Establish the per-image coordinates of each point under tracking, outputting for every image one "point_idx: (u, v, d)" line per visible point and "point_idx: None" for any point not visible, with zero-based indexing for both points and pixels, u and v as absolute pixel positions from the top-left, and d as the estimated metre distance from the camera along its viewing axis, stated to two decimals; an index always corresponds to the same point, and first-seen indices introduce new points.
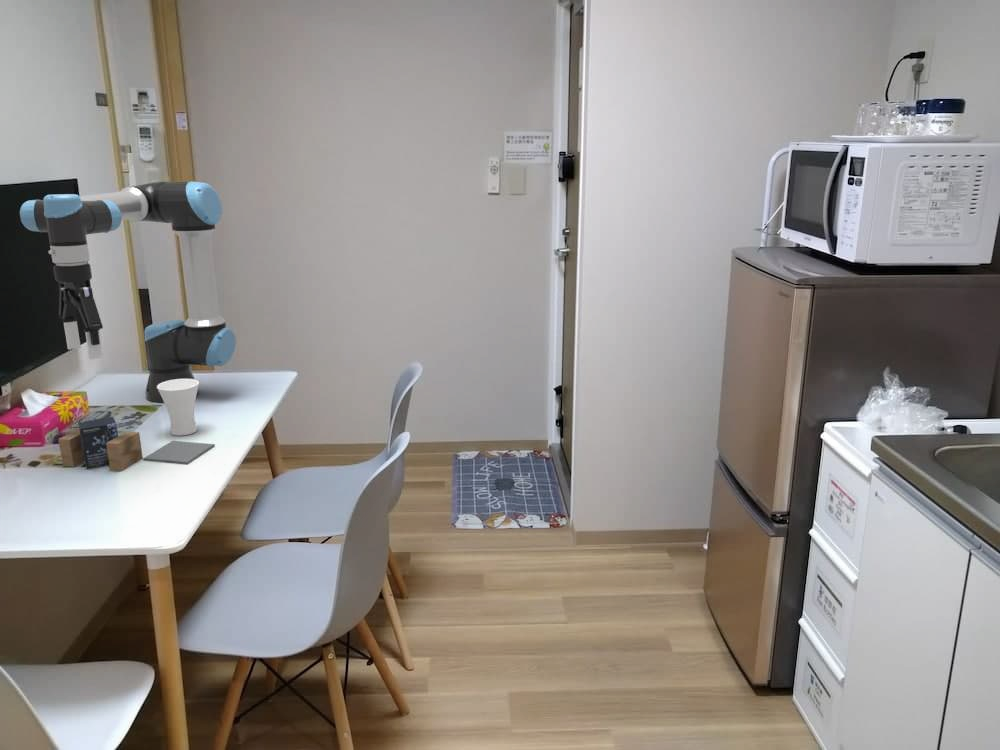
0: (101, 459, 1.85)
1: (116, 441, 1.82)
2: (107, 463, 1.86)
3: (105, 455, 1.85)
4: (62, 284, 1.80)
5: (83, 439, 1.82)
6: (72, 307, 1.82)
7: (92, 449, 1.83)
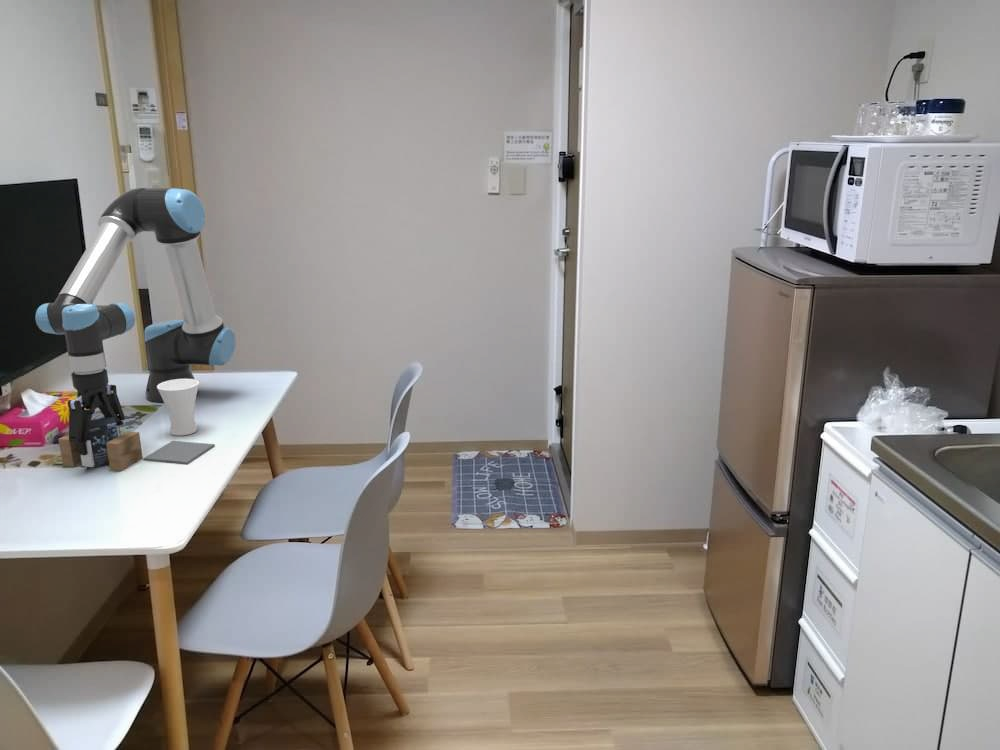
0: (101, 459, 1.85)
1: (116, 441, 1.82)
2: (107, 463, 1.86)
3: (105, 455, 1.85)
4: None
5: None
6: (106, 411, 1.87)
7: (92, 449, 1.83)
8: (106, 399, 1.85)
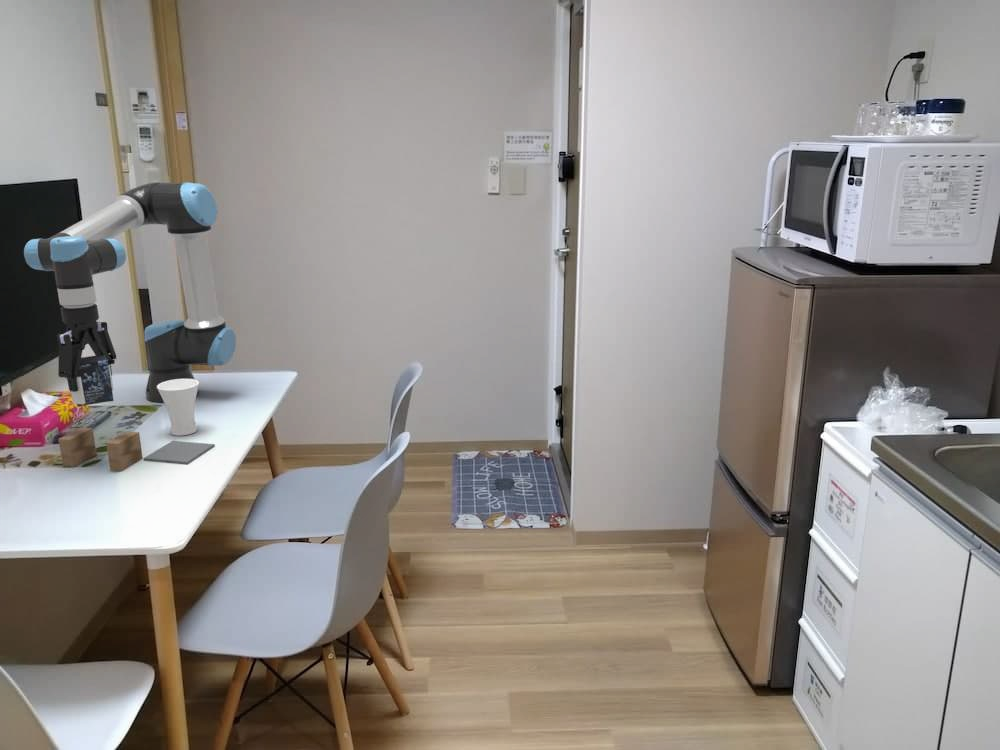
0: (93, 397, 1.81)
1: (116, 441, 1.82)
2: (98, 401, 1.82)
3: (96, 393, 1.81)
4: None
5: None
6: (97, 349, 1.83)
7: (82, 386, 1.79)
8: (97, 335, 1.81)
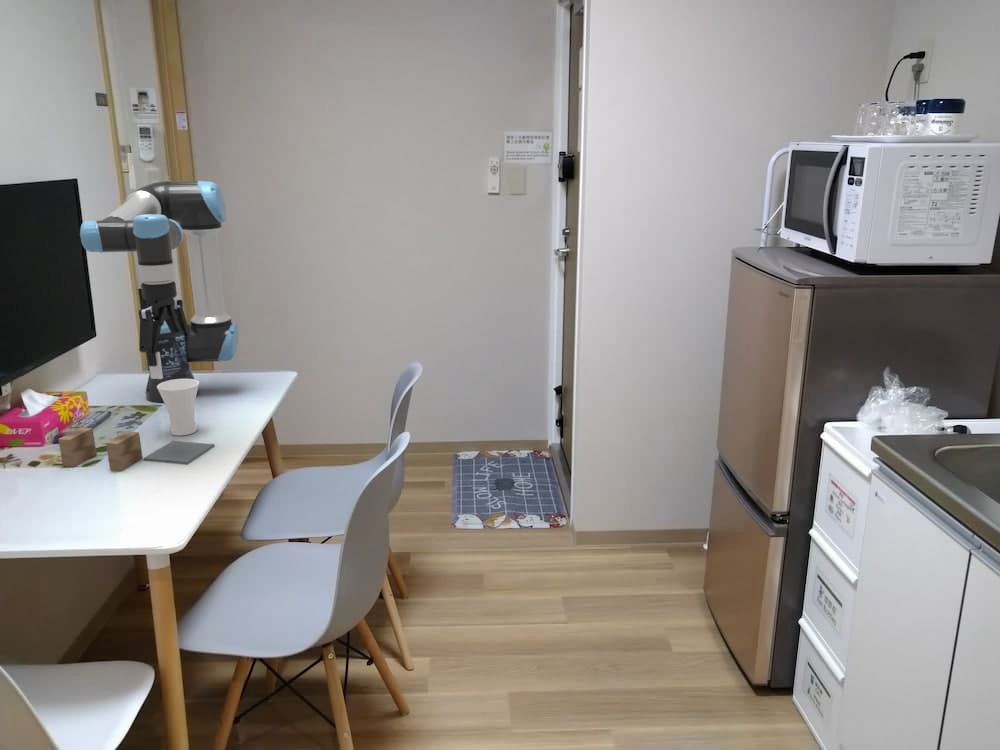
0: (169, 372, 1.85)
1: (116, 441, 1.82)
2: (175, 377, 1.86)
3: (173, 368, 1.85)
4: None
5: None
6: (173, 326, 1.87)
7: None
8: (174, 312, 1.85)
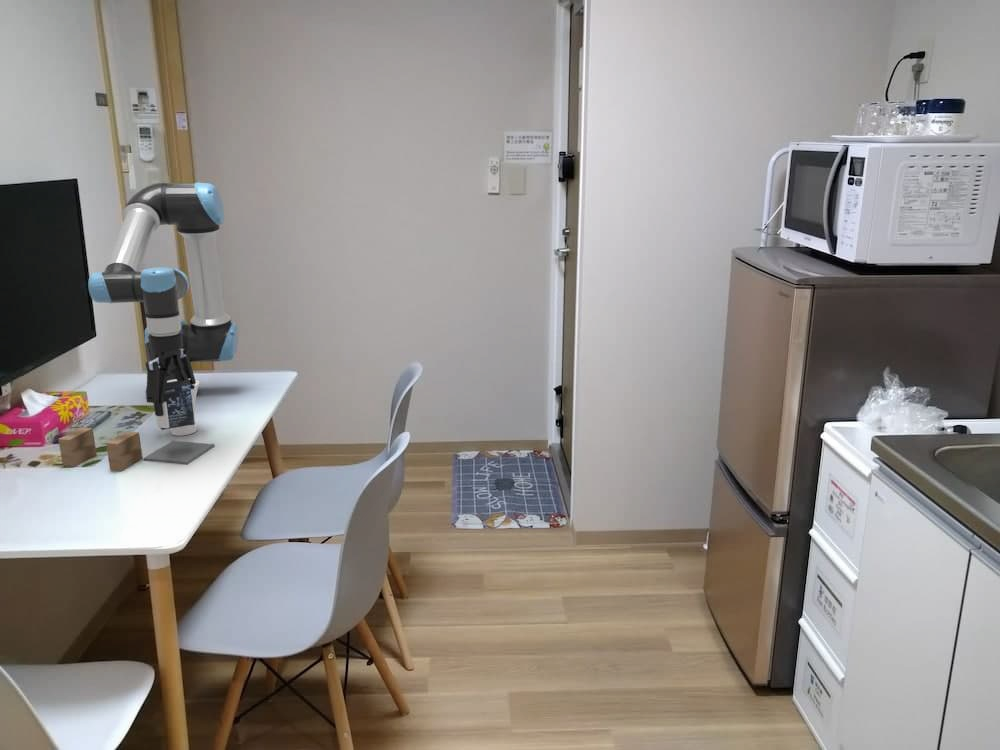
0: (176, 421, 1.88)
1: (116, 441, 1.82)
2: (181, 425, 1.89)
3: (179, 417, 1.88)
4: None
5: None
6: (179, 375, 1.91)
7: None
8: (180, 362, 1.89)
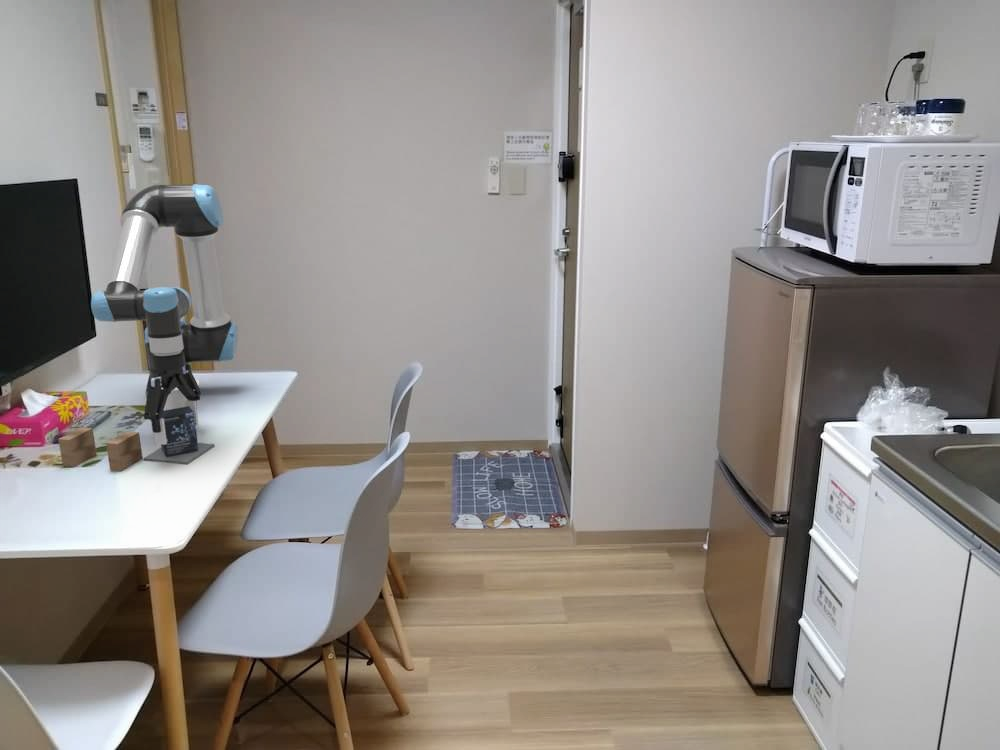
0: (179, 447, 1.91)
1: (116, 441, 1.82)
2: (184, 451, 1.92)
3: (183, 443, 1.91)
4: None
5: None
6: (183, 389, 1.93)
7: (171, 438, 1.89)
8: (183, 379, 1.90)
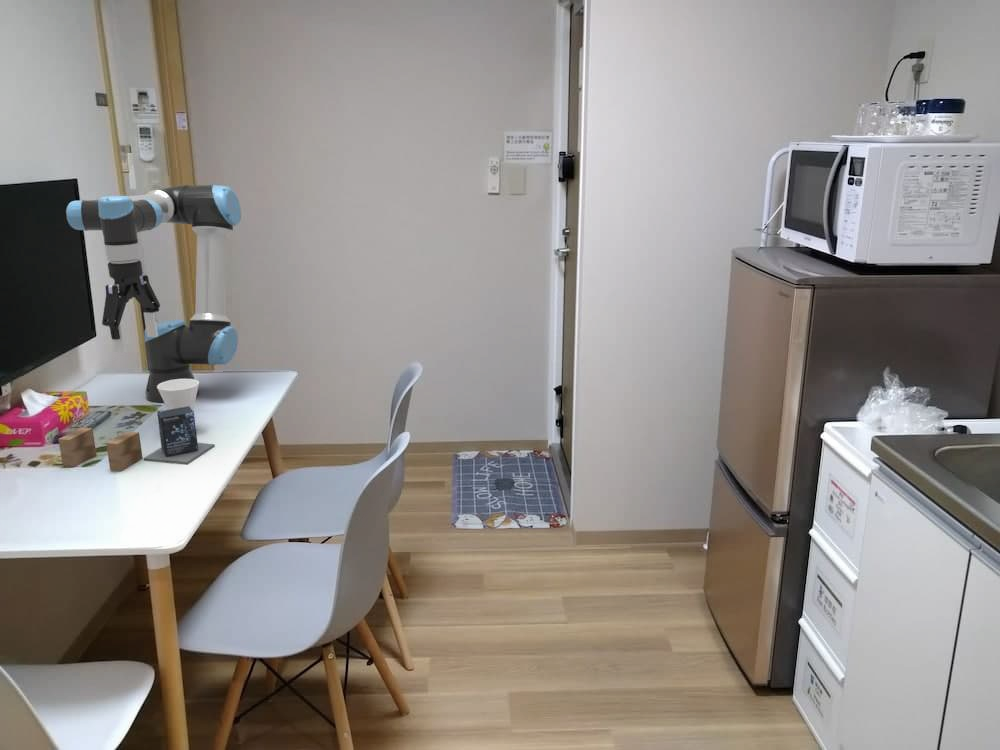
0: (179, 447, 1.91)
1: (116, 441, 1.82)
2: (184, 451, 1.92)
3: (183, 443, 1.91)
4: None
5: (163, 428, 1.87)
6: (142, 300, 1.96)
7: (171, 438, 1.89)
8: (141, 289, 1.93)
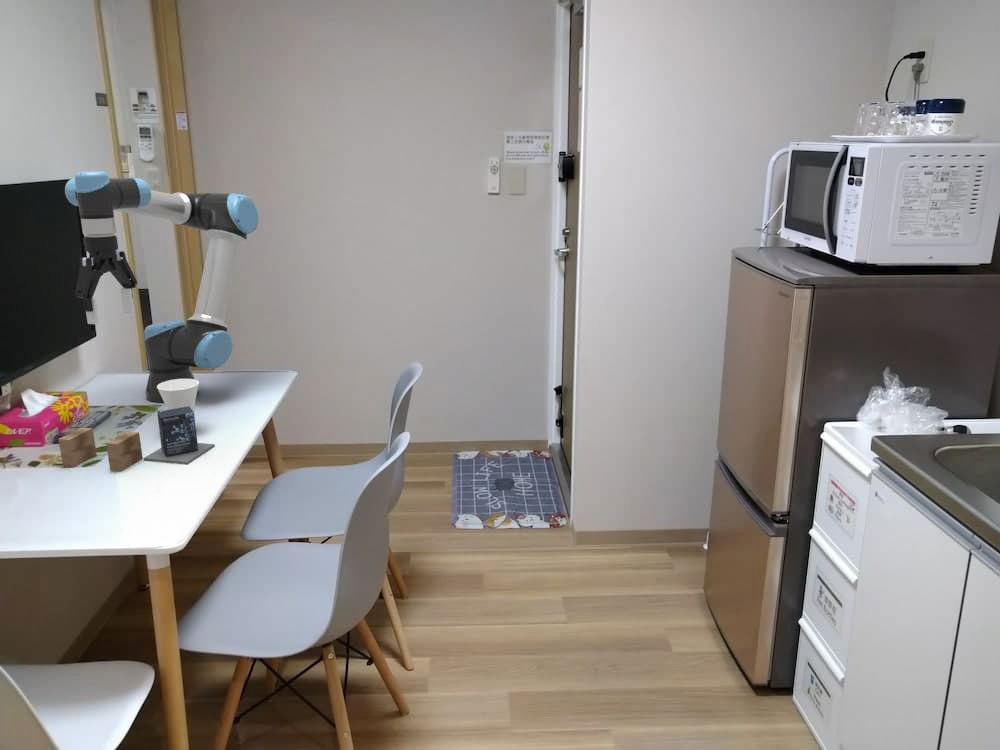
0: (179, 447, 1.91)
1: (116, 441, 1.82)
2: (184, 451, 1.92)
3: (183, 443, 1.91)
4: None
5: (163, 428, 1.87)
6: (118, 276, 1.99)
7: (171, 438, 1.89)
8: (116, 264, 1.96)
